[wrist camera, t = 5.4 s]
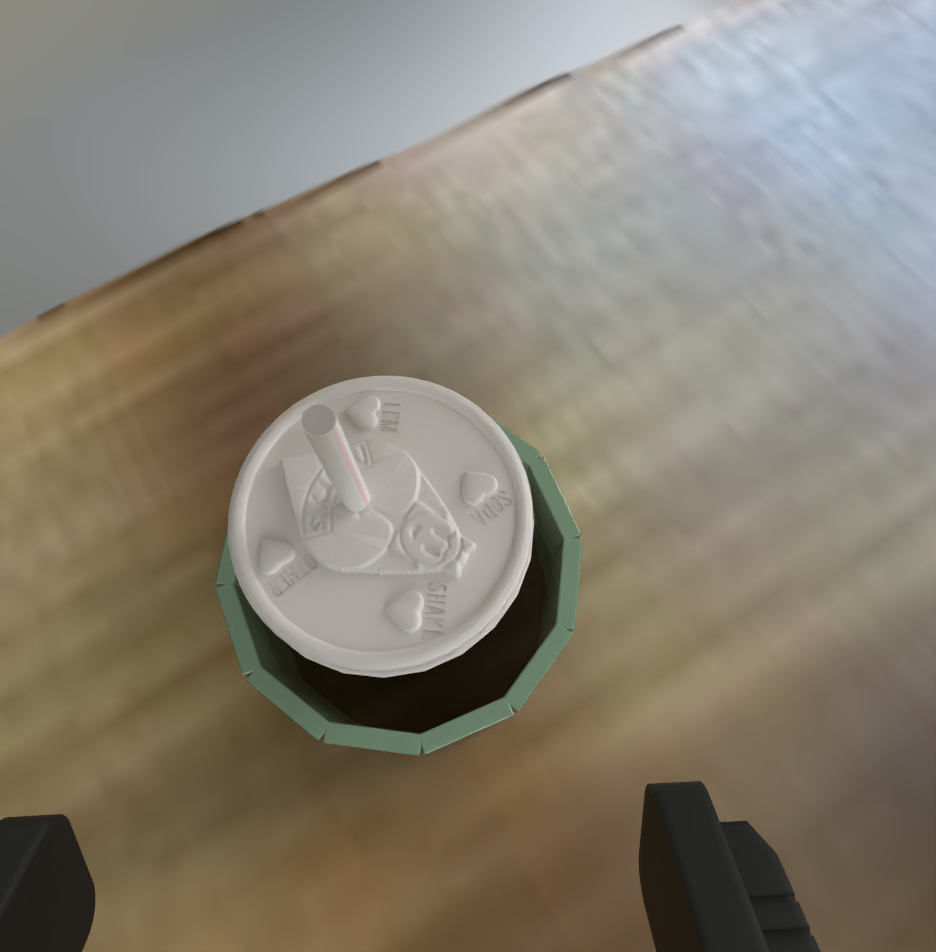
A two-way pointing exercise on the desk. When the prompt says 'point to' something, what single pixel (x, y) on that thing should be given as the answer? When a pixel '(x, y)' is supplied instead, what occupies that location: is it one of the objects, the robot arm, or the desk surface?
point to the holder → (285, 688)
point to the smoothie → (381, 525)
